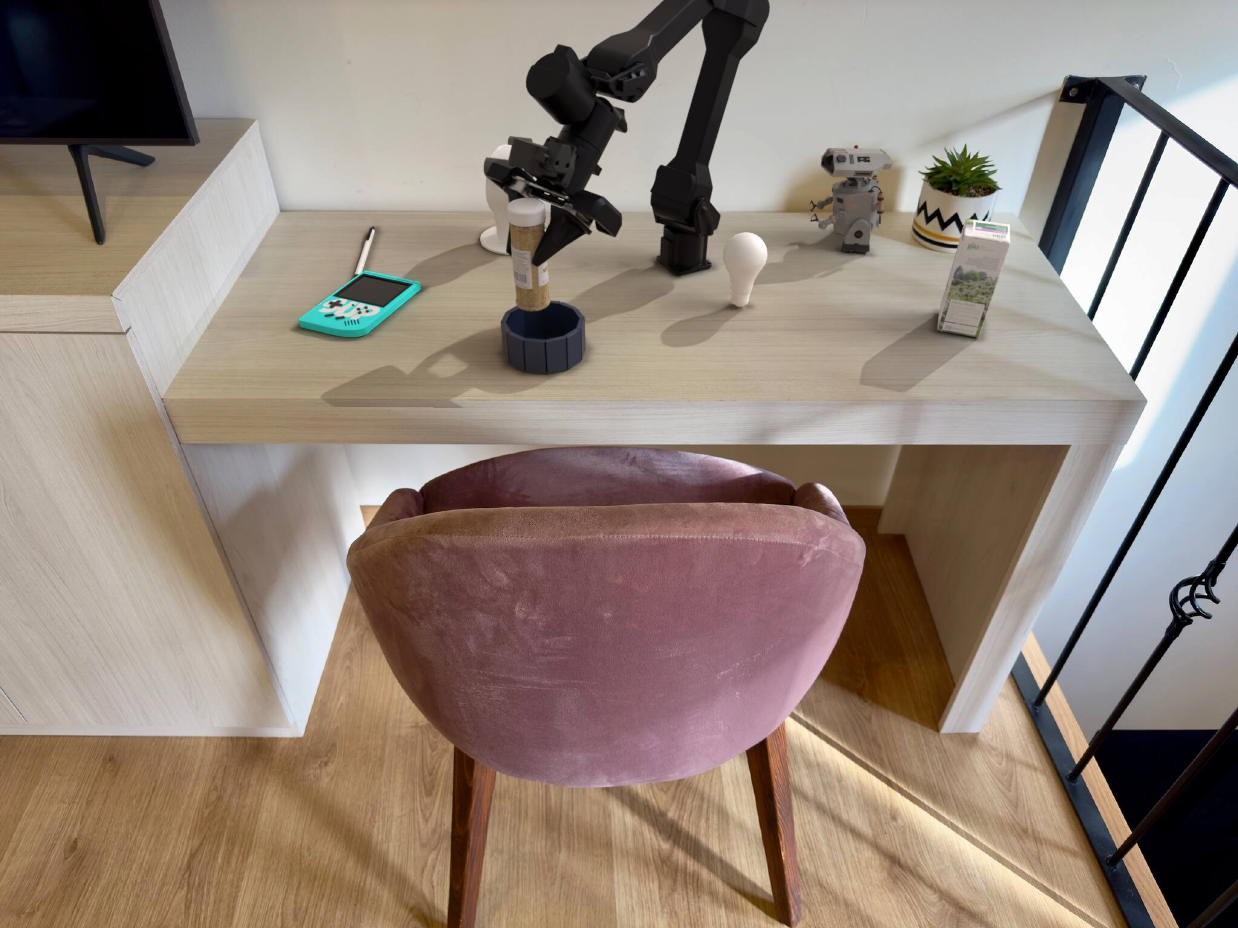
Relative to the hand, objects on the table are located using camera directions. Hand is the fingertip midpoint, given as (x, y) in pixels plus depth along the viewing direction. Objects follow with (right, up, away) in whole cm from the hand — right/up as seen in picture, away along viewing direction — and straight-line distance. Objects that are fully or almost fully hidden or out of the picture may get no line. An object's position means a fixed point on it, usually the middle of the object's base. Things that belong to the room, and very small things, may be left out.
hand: (521, 259), depth 105 cm
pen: (-28, +8, +30) cm, 42 cm away
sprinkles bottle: (+1, -5, +5) cm, 7 cm away
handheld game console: (-25, -3, +17) cm, 30 cm away
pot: (+2, -10, +8) cm, 13 cm away
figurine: (+48, +11, +35) cm, 61 cm away
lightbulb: (+29, -2, +18) cm, 35 cm away
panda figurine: (-5, +11, +34) cm, 37 cm away
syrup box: (+60, -6, +15) cm, 62 cm away
